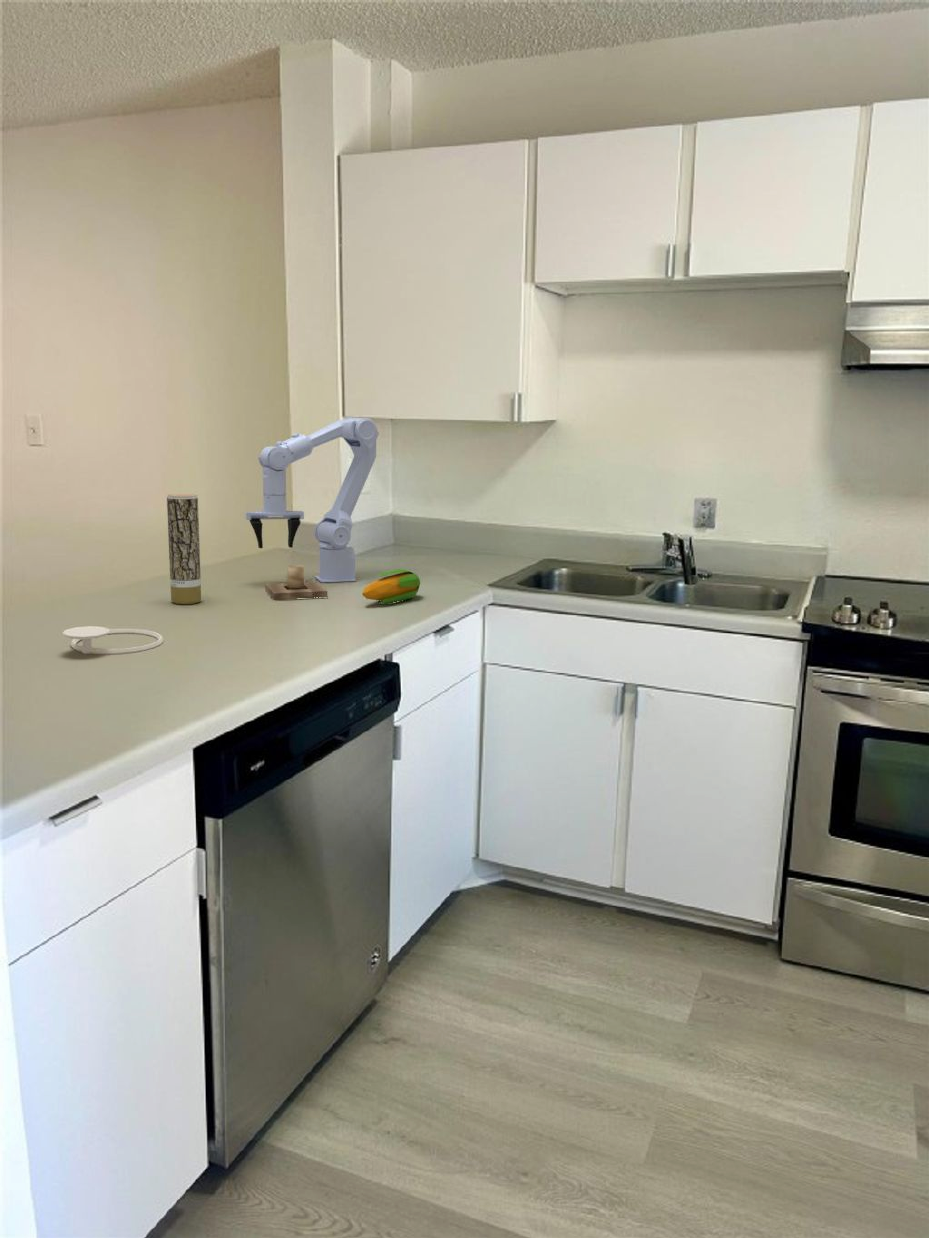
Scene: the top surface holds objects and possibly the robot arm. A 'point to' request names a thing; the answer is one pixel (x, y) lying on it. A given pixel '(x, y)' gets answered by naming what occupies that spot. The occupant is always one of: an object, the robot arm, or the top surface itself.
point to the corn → (393, 587)
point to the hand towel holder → (96, 632)
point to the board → (295, 591)
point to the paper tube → (184, 548)
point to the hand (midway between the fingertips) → (275, 547)
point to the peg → (295, 577)
